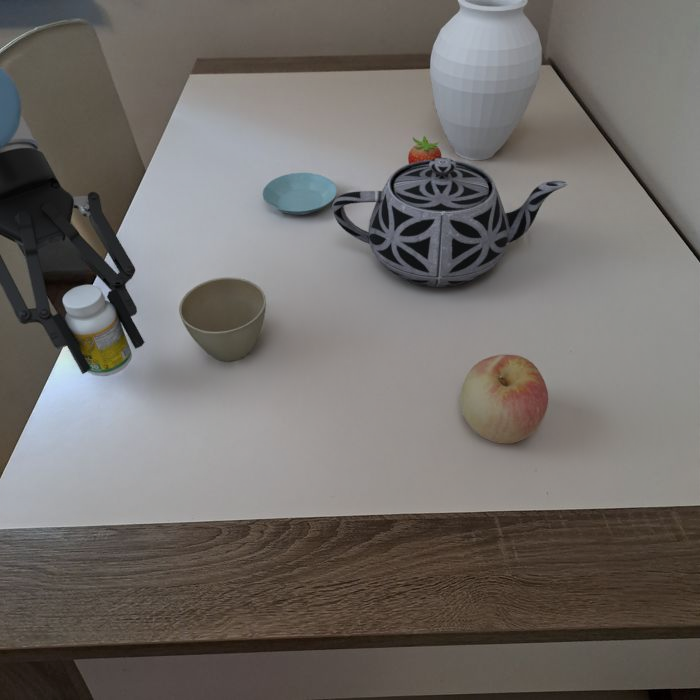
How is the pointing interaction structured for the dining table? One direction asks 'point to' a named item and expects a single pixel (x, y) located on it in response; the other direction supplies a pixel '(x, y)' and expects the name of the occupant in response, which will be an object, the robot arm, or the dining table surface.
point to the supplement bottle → (96, 330)
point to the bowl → (224, 316)
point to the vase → (484, 74)
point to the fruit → (423, 151)
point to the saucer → (299, 193)
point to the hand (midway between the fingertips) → (113, 357)
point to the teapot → (440, 221)
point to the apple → (504, 398)
